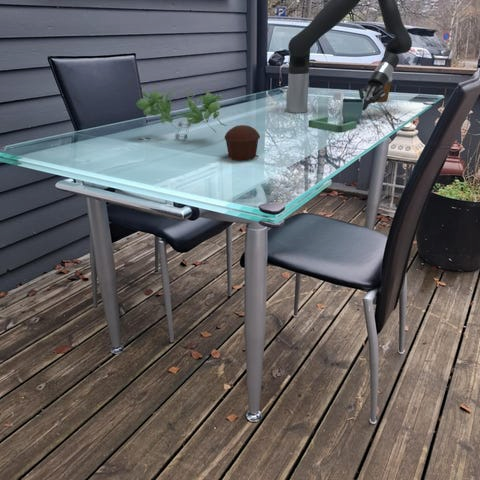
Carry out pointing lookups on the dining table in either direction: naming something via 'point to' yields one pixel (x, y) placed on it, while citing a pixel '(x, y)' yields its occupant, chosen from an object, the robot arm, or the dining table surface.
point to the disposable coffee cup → (386, 91)
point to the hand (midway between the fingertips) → (361, 109)
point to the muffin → (242, 142)
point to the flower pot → (352, 110)
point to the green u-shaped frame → (323, 123)
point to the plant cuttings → (196, 114)
